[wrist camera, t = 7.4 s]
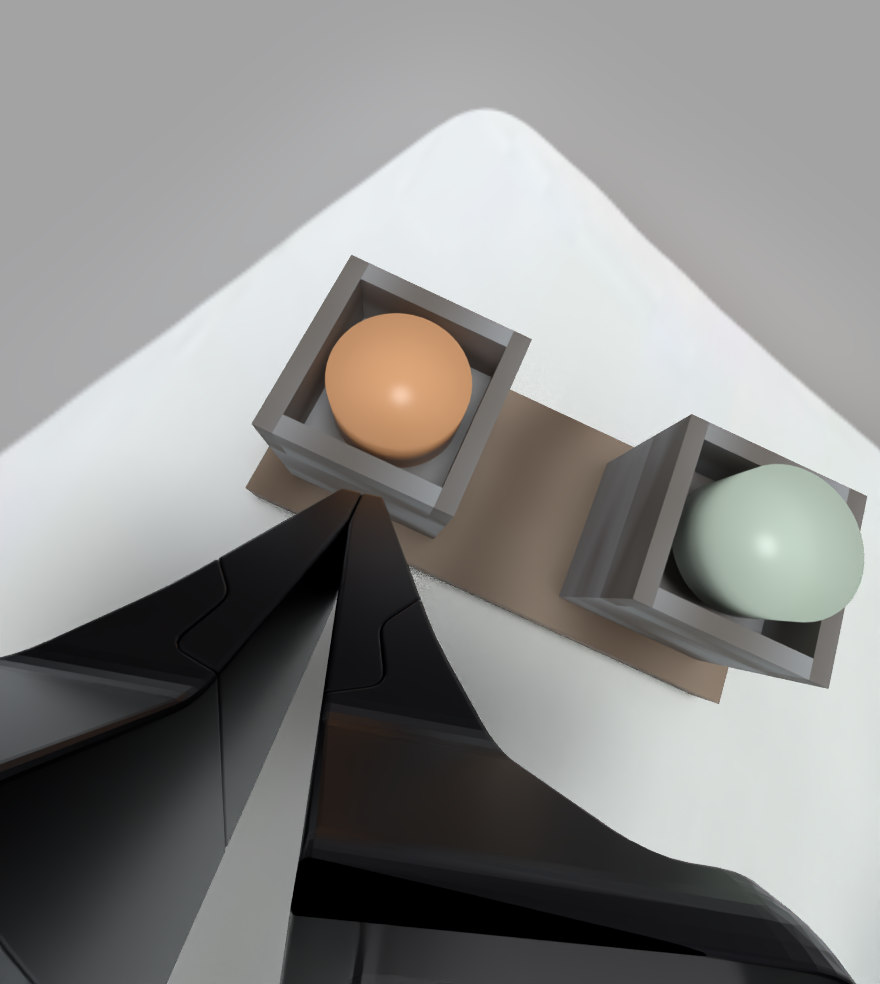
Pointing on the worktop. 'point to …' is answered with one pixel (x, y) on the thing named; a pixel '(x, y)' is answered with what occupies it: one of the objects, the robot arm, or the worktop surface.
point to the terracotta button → (398, 388)
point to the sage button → (770, 545)
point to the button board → (538, 502)
